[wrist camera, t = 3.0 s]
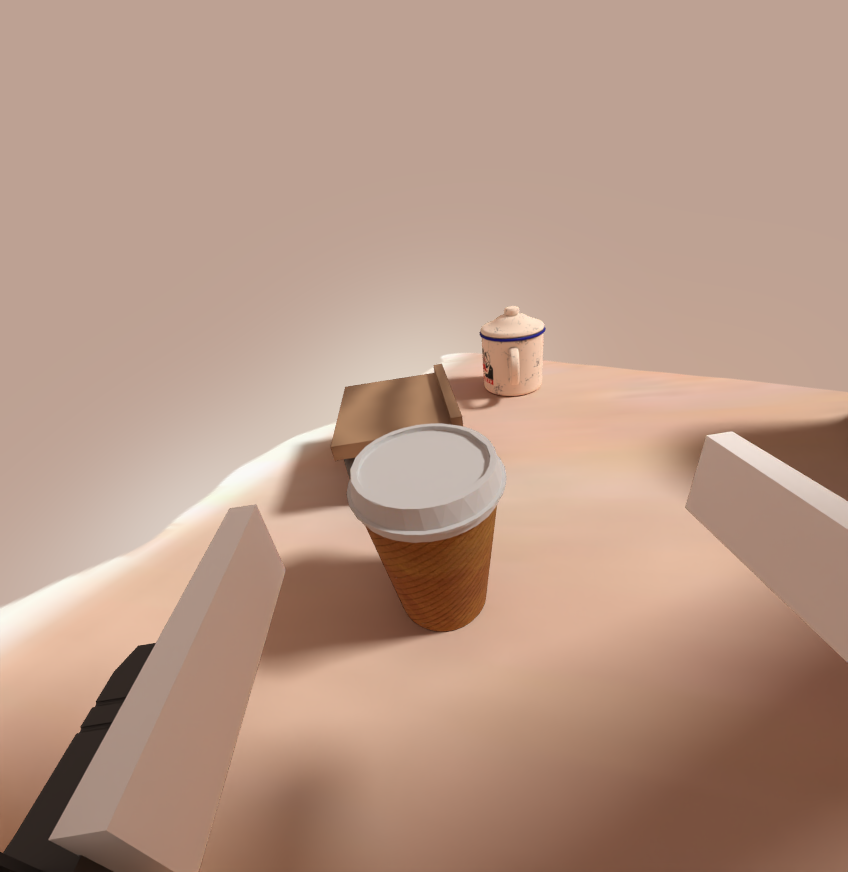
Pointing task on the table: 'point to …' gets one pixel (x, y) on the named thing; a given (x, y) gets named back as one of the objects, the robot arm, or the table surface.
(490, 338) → the teacup with lid
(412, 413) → the peg shelf
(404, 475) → the disposable coffee cup
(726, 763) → the table surface
